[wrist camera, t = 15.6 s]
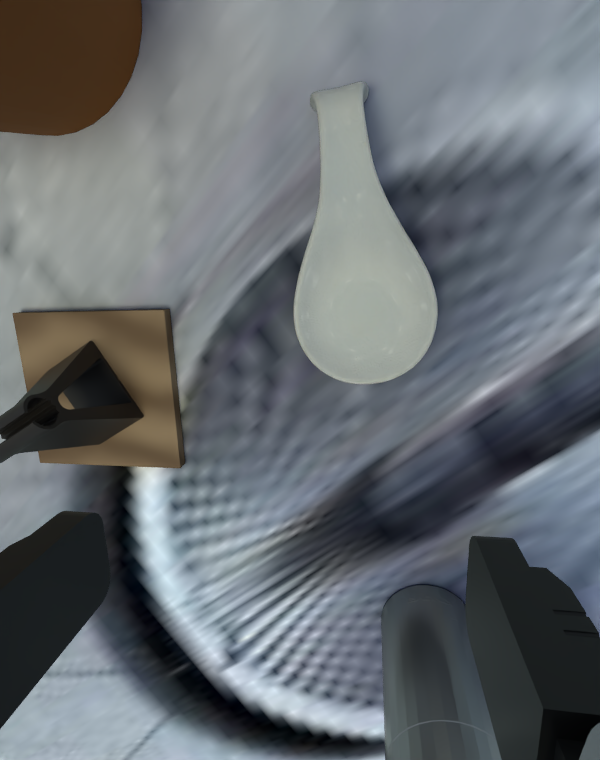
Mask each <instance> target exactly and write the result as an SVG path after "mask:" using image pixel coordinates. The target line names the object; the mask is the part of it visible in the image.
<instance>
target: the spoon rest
mask: <svg viewBox="0 0 600 760" xmlns="http://www.w3.org/2000/svg"><path fill="white" fill-rule="evenodd" d="M368 94H369V88H368V86H367V84H366V83H365V82H362V81H361V82H357V83H353V84H349V85H346V86H343V87H338V88H333V89H328V90H321V91H316V92H313V93H312V94H311V97H310V105H311V107H312V109H313V110H314V111H316V112H317V115H318V125H319V138H320V160H321V178H320V195H319V203H318V209H317V214H316V218H315V222H314V225H313V229H312V232H311V235H310V238H309V242H308V245H307V248H306V251H305V255H304V258H303V262H302V265H301V268H300V272H299V276H298V281H297V286H296V291H295V299H294V324H295V331H296V334H297V338H298V340H299V343H300V345H301V347H302V349H303V351H304V352H305V354H306V355H307V357H308V358H309V359H310V361H311V362H312V363H313V364H314V365H315V366H316V367H317V368H318V369H320V370H321V371H322V372H324V373H325V374H327V375H329V376H331V377H332V378H334V379H337V380H340V381H343V382H347V383H352V384H375V383H381V382H385V381H389V380H392V379H394V378H396V377H399V376H401V375H402V374H404V373H406V372H407V371H409V370H410V369H412V368H413V367H414V366H415V365H416V364H417V363H418V362H419V361H420V360H421V359H422V357H423V356H424V355H425V353H426V352H427V350H428V348H429V346H430V344H431V342H432V339H433V336H434V333H435V329H436V325H437V317H438V306H437V298H436V293H435V289H434V286H433V283H432V280H431V277H430V275H429V272H428V270H427V268H426V266H425V264H424V262H423V260H422V259H421V257H420V255H419V253H418V252H417V250H416V248H415V246H414V245H413V243H412V241H411V240H410V238H409V237H408V235H407V233H406V232H405V230H404V228H403V227H402V225H401V223H400V221H399V220H398V218H397V216H396V214H395V213H394V211H393V209H392V207H391V206H390V204H389V202H388V200H387V197H386V195H385V193H384V191H383V188H382V186H381V184H380V181H379V179H378V176H377V173H376V170H375V167H374V163H373V159H372V154H371V149H370V144H369V139H368V133H367V127H366V121H365V113H364V105H363V103H364V102H365V101H366V99H367V97H368Z"/></svg>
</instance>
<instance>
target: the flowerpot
mask: <svg viewBox="0 0 600 760" xmlns="http://www.w3.org/2000/svg"><path fill="white" fill-rule="evenodd" d="M141 33H142V5H141V0H0V132H12V133H23V134H34V135H53V136H59V135H64V134H69V133H74V132H77V131H79V130H82V129H84V128H86V127H88V126H90V125H92V124H94V123H95V122H96V121H97V120H99V119H100V118H101V117H102V116H104V115H105V114H106V113H107V112H108V111H109V110H110V109H111V108H112V106H113V105H114V104H115V103H116V102H117V100H118V99H119V98H120V97H121V95H122V93H123V91H124V89H125V88H126V86H127V84H128V82H129V80H130V78H131V76H132V73H133V70H134V67H135V64H136V60H137V57H138V54H139V47H140V40H141Z"/></svg>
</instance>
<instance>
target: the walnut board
mask: <svg viewBox="0 0 600 760" xmlns="http://www.w3.org/2000/svg"><path fill="white" fill-rule="evenodd" d="M13 318H14V324H15V329H16V334H17V340H18V345H19V351H20V356H21V361H22V367H23V372H24V378H25V383H26V388H27V392H28V391H29V390H30V389H31V388H32V387H33V386H34V385H35V384H36V383H37V382H38V381H39V379H40V378H41V377H42V376H43V375H44V374H45V373H46V372H47V371H48V370H50V369H51V368H53V367H54V366H55V365H57V364H58V363H60V362H61V361H62V360H64V359H65V358H67V357H68V356H69V355H71V354H72V353H74V352H75V351H76V350H78V349H79V348H81V347H82V346H84V345H85V344H86V343H88V342H89V341H93V342H94V343H95V345H96V346H97V348H98V349H99V350H100V352H101V353H102V355H103V356H104V358H105V359H106V361H107V362H108V364H109V365H110V367H111V368H112V369H113V371H114V372H115V374H116V375H117V377H118V380H119V381H121V383H122V384H123V385H124V387H125V388H126V390H127V391H128V393H129V394H130V396H131V397H132V399H133V400H134V402H135V403H136V404H137V406H138V407H139V409H140V410H141V412H142V413H143V415H144V417H143V418H142V419H140V420H138V421H137V422H135V423H133V424H132V425H130V426H129V427H127V428H125V429H124V430H122V431H121V432H119V433H117V434H116V435H114V436H113V437H111V438H109V439H108V440H106V441H104V442H103V443H101V444H100V445H91V446H81V447H72V448H62V449H53V450H43V451H38V453H39V458H40V463H62V464H88V465H113V466H138V467H163V468H181V467H182V466H183V465H184V464H185V456H184V446H183V437H182V427H181V417H180V407H179V397H178V387H177V377H176V367H175V357H174V347H173V337H172V327H171V317H170V309H152V310H103V311H54V312H19V313H13ZM58 400H59V403H60V404H61V406H63V407H64V408H66V409H74V407H73V406H72V404H71V403H70V402H69V400H68V399H67V397H66V396H65V394H64V393H63V392H62V393H61V394H60V395H59V397H58Z"/></svg>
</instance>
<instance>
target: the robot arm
mask: <svg viewBox="0 0 600 760" xmlns="http://www.w3.org/2000/svg"><path fill="white" fill-rule="evenodd" d="M110 579H111V572H110V565H109V558H108V552H107V545H106V539H105V532H104V526H103V521H102V518H101V517H100V515H99V514H97V513H90V512H73V511H63V512H60V513H59V514H57V515H56V516H54V517H53V518H52V519H51V520H49V521H48V522H47V523H45V524H44V525H43V526H42V527H40V528H39V529H38V530H36V531H35V532H34V533H33V534H31V535H30V536H28V537H26V538H24V539H22V540H20V541H18V542H16V543H14V544H12V545H10V546H8V547H7V548H6V549H5V550H3V551H2V552H1V553H0V729H1V727H2V726H3V725H4V724H5V722H6V721H7V720H8V719H9V717H10V716H11V715H12V714H13V713H14V711H15V710H16V709H17V708H18V706H19V705H20V704H21V703H22V701H23V700H24V699H25V698H26V696H27V695H28V694H29V693H30V691H31V690H32V689H33V688H34V687H35V685H36V684H37V683H38V682H39V680H40V679H41V678H42V677H43V675H44V674H45V673H46V672H47V670H48V669H49V668H50V667H51V665H52V664H53V663H54V662H55V660H56V659H57V658H58V657H59V656H60V654H61V653H62V652H63V651H64V649H65V648H66V647H67V646H68V644H69V643H70V642H71V641H72V639H73V638H74V637H75V636H76V634H77V633H78V632H79V631H80V630H81V628H82V627H83V626H84V625H85V623H86V622H87V621H88V620H89V618H90V617H91V616H92V615H93V613H94V612H95V611H96V610H97V608H98V607H99V606H100V605H101V603H102V602H103V600H104V599H105V597H106V594H107V592H108V589H109V585H110ZM381 629H382V667H383V698H384V729H385V760H600V637H599V632H598V631H597V629H596V628H595V626H594V625H593V623H592V621H591V620H590V618H589V617H586V612H585V610H584V609H583V607H582V606H581V604H580V602H579V601H578V599H577V598H576V596H575V595H574V593H573V591H572V590H571V588H570V587H568V586H567V585H566V584H565V583H564V582H562V581H561V580H560V579H559V578H558V577H556V576H555V575H554V574H553V573H552V572H550V571H549V570H548V569H547V568H539V567H529V566H528V564H527V562H526V560H525V558H524V556H523V554H522V553H521V551H520V549H519V547H518V545H517V543H516V542H515V540H514V539H512V538H499V537H482V536H472V537H471V539H470V544H469V557H468V572H467V587H466V602H465V605H464V603H463V602H462V601H461V600H460V599H459V598H458V597H457V596H455V595H454V594H452V593H451V592H449V591H447V590H445V589H442V588H439V587H435V586H429V585H417V586H412V587H408V588H405V589H403V590H400V591H399V592H397V593H396V594H394V595H393V596H392V597H391V598H390V599H389V600H388V601H387V603H386V604H385V606H384V608H383V611H382V615H381Z"/></svg>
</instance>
